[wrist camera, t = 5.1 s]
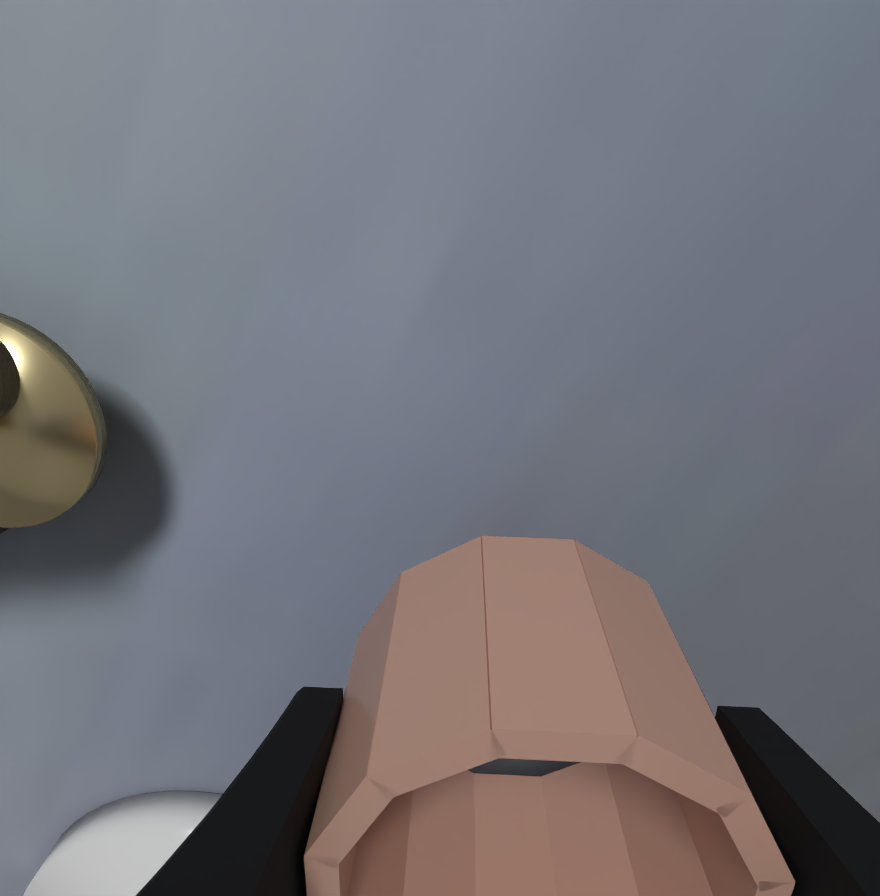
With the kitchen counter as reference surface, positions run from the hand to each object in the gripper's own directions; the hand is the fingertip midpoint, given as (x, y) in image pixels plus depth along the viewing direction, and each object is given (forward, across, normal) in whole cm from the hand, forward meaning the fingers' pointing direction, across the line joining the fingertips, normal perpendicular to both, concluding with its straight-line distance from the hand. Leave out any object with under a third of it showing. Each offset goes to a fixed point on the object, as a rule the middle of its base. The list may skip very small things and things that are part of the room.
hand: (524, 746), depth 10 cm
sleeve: (+2, 0, 0) cm, 2 cm away
